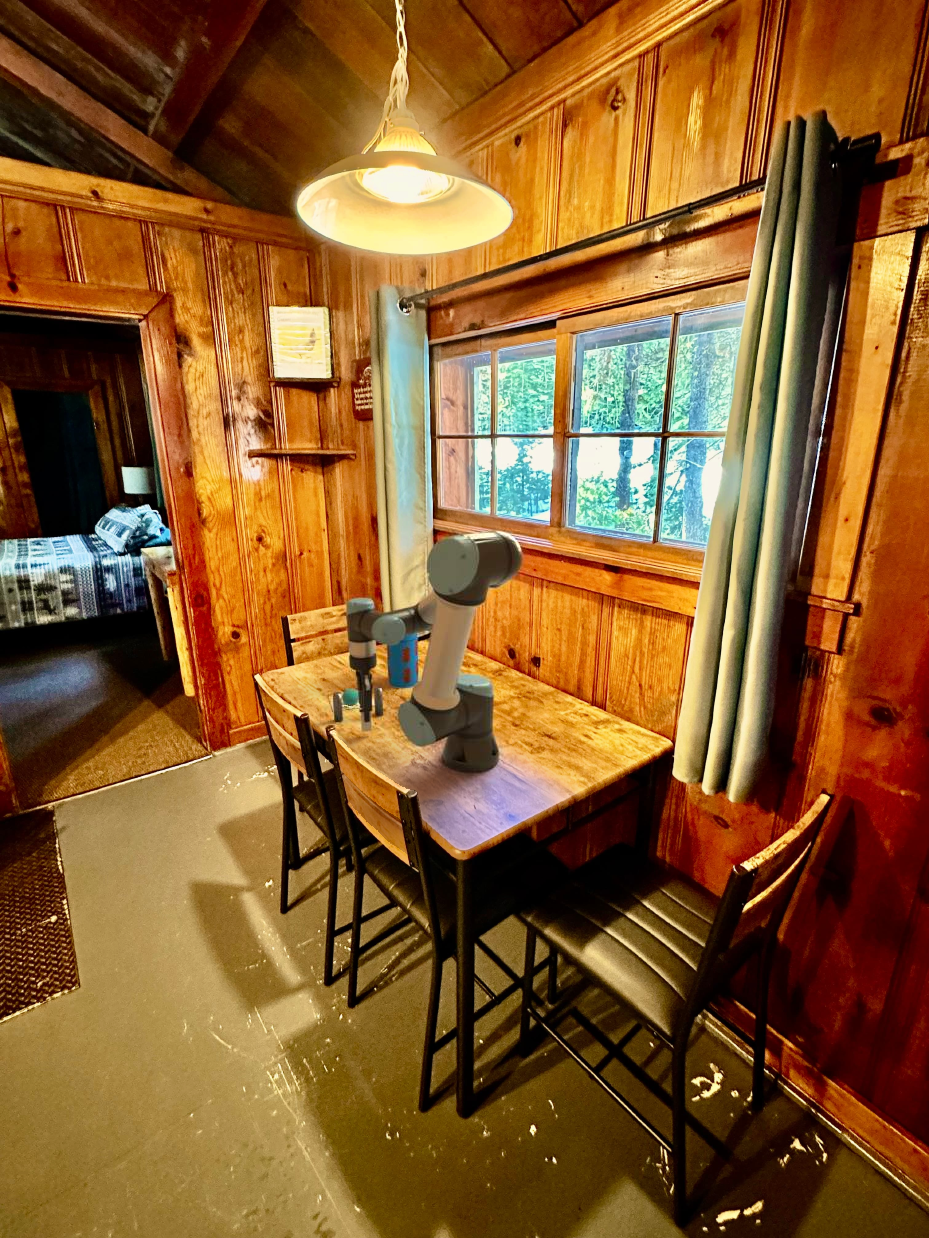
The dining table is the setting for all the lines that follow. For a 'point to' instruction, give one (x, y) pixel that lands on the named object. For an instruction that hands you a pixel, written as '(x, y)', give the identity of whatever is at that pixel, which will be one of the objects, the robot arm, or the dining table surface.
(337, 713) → the post left
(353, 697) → the ball
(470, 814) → the dining table surface
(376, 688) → the post right
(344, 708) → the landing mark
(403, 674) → the thermos
